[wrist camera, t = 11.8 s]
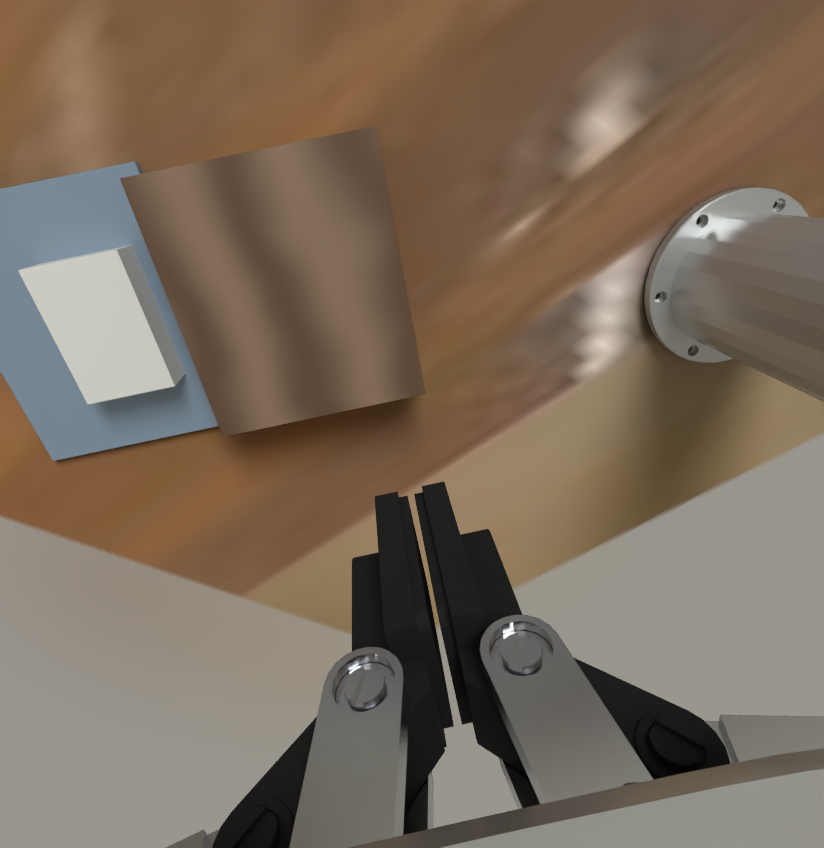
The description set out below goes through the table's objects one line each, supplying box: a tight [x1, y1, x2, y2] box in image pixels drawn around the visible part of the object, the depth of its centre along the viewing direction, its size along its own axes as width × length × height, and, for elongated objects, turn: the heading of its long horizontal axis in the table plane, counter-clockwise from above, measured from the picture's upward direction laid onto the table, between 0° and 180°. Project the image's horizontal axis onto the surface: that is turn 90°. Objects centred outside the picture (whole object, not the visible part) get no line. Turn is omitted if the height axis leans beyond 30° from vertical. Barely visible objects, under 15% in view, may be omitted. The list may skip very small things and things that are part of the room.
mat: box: [0, 162, 218, 461], centre depth 35 cm, size 14×18×1 cm
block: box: [18, 245, 186, 404], centre depth 34 cm, size 6×9×2 cm, turn 10°
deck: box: [120, 126, 426, 437], centre depth 33 cm, size 14×16×5 cm
